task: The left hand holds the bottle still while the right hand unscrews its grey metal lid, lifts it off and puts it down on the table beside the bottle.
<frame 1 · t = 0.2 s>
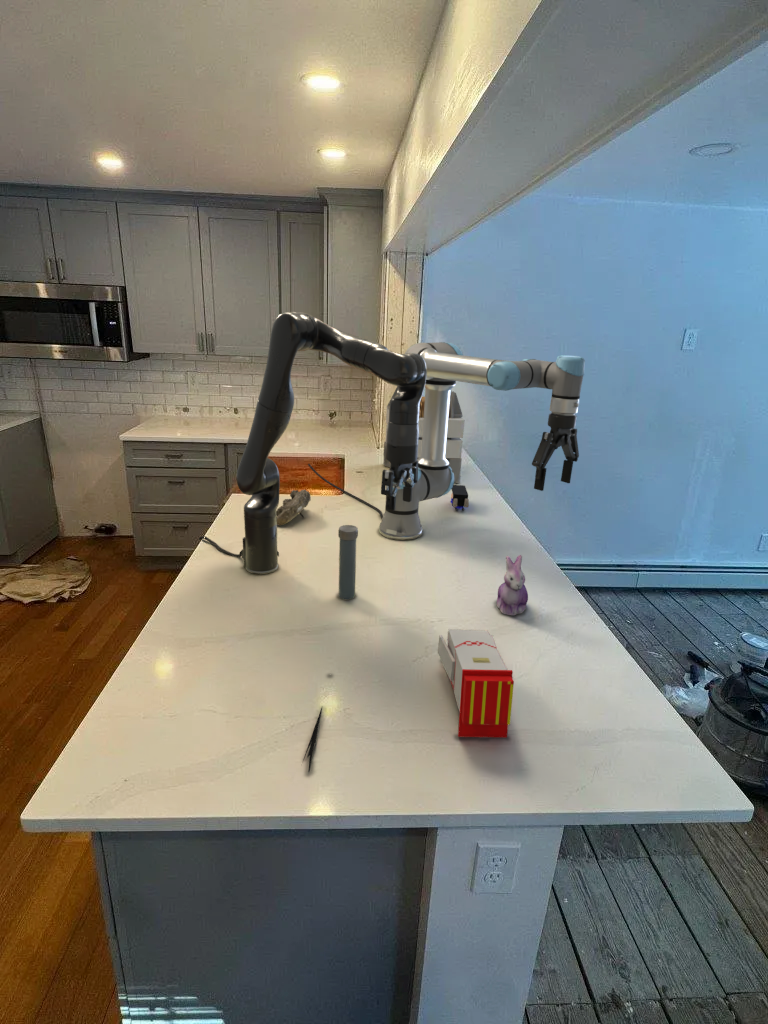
left hand: (398, 505, 139), 29 cm above the counter, tool pointing down, fingers open, 8 cm apart
right hand: (552, 485, 166), 28 cm above the counter, tool pointing down, fingers open, 13 cm apart
bottle: (346, 595, 156), on the counter
fossil: (293, 517, 211), on the counter
figurine character: (458, 507, 230), on the counter
figurine: (511, 608, 153), on the counter
toy: (469, 691, 119), on the counter
lid: (348, 529, 149), point 20 cm above the counter, screwed on, not yet turned
white wooden crate: (419, 473, 275), on the counter
feather: (319, 719, 109), on the counter
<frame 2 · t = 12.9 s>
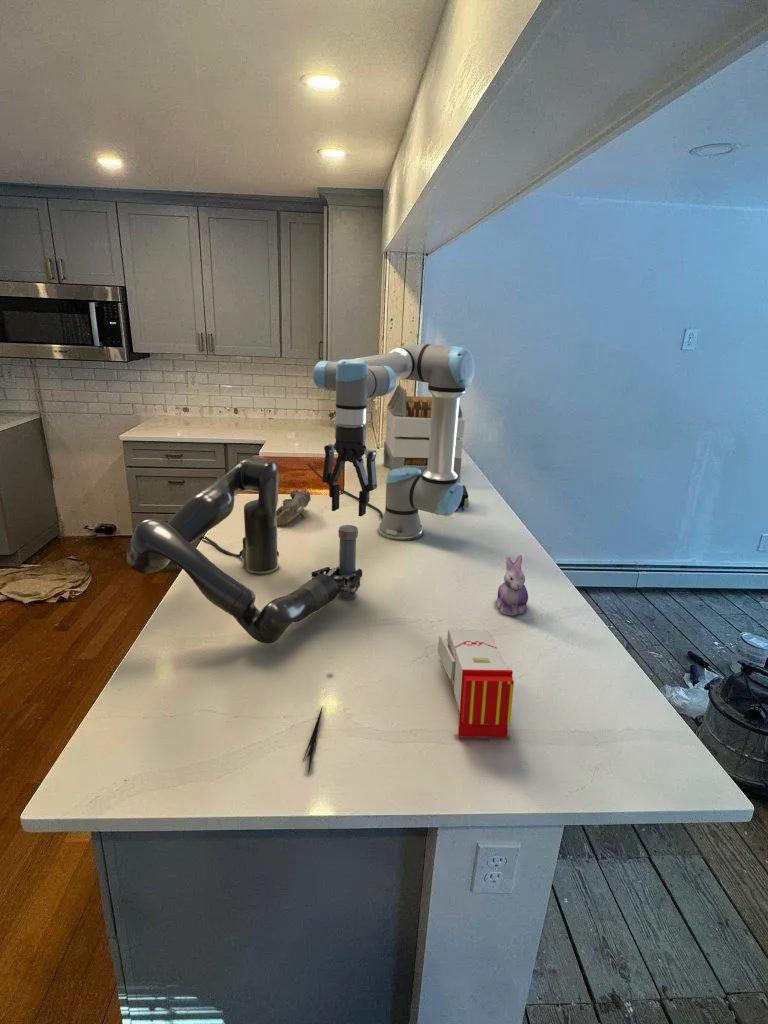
left hand: (352, 569, 156), 7 cm above the counter, tool horizontal, fingers closed on bottle, 4 cm apart
right hand: (348, 512, 147), 24 cm above the counter, tool pointing down, fingers open, 7 cm apart
bottle: (346, 595, 156), on the counter, touching left hand
everything else where it was.
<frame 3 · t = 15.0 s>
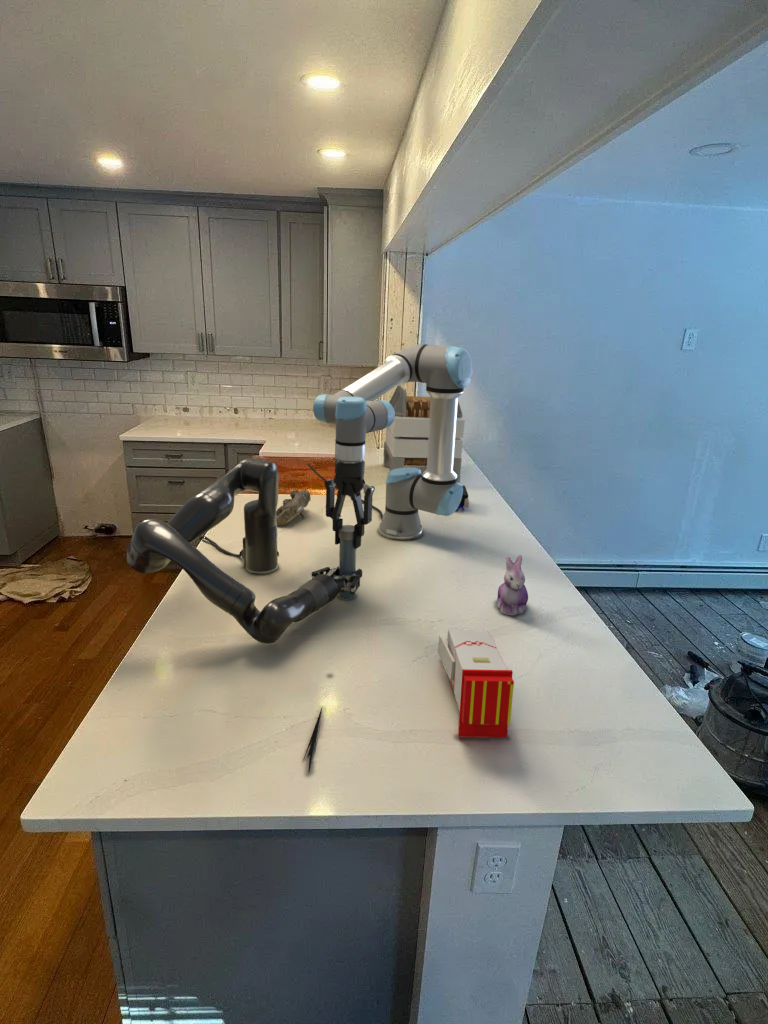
left hand: (352, 569, 156), 7 cm above the counter, tool horizontal, fingers closed on bottle, 4 cm apart
right hand: (347, 544, 150), 15 cm above the counter, tool pointing down, fingers closed on lid, 5 cm apart
bottle: (346, 595, 156), on the counter, touching left hand
lid: (348, 529, 149), point 20 cm above the counter, screwed on, not yet turned, touching right hand
everything else where it was.
when the right hand's fingers open (15 cm above the counter, at t = 16.1 s): lid stays where it is, point 20 cm above the counter.
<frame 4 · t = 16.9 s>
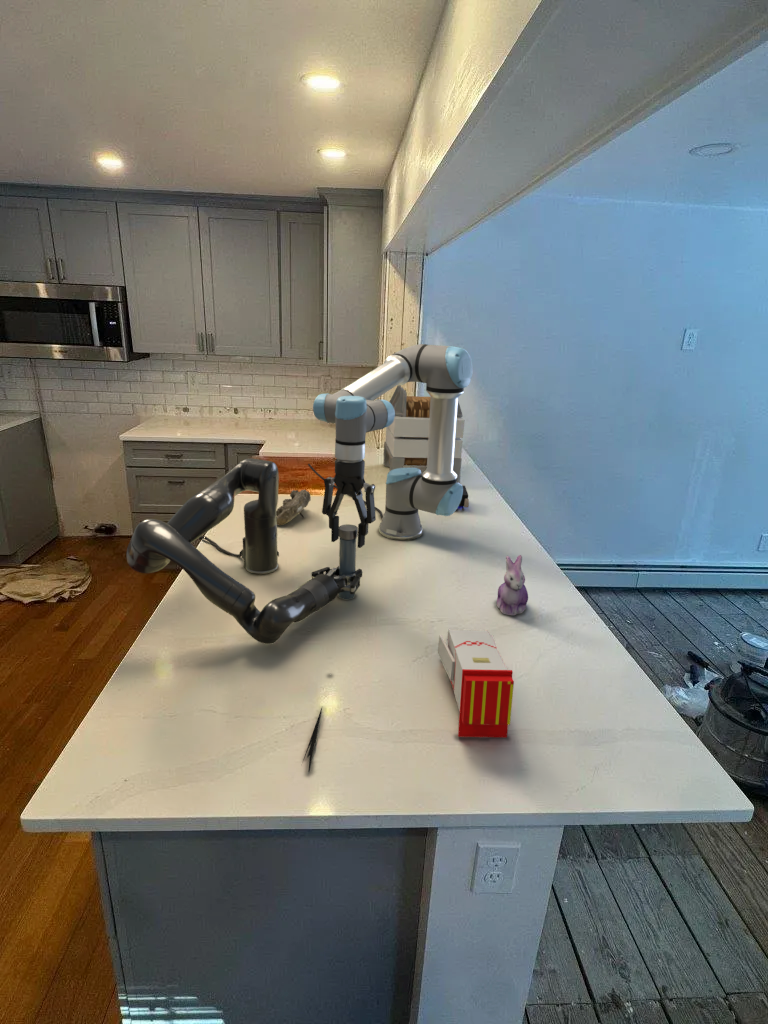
left hand: (352, 569, 156), 7 cm above the counter, tool horizontal, fingers closed on bottle, 4 cm apart
right hand: (347, 542, 150), 16 cm above the counter, tool pointing down, fingers open, 7 cm apart
bottle: (346, 595, 156), on the counter, touching left hand
lid: (348, 528, 149), point 20 cm above the counter, turned 75° so far, risen 0.2 cm, still on its thread
everything else where it was.
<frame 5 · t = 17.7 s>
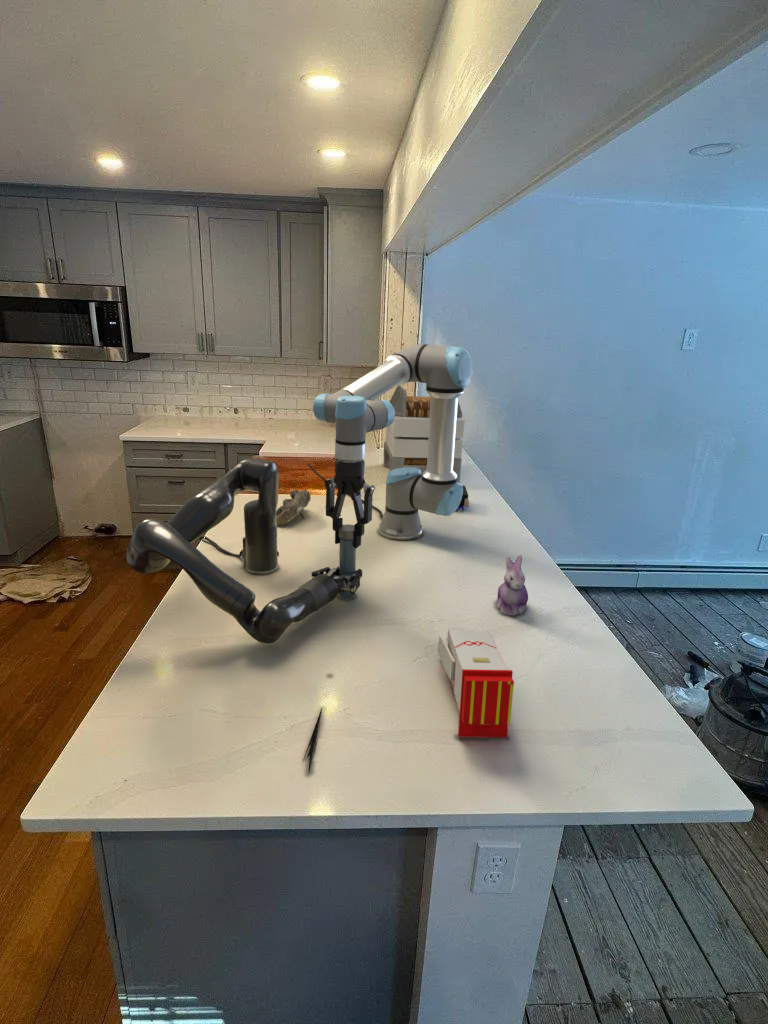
left hand: (352, 569, 156), 7 cm above the counter, tool horizontal, fingers closed on bottle, 4 cm apart
right hand: (347, 544, 150), 15 cm above the counter, tool pointing down, fingers closed on lid, 5 cm apart
bottle: (346, 595, 156), on the counter, touching left hand
lid: (348, 528, 149), point 20 cm above the counter, turned 75° so far, risen 0.2 cm, still on its thread, touching right hand
everything else where it was.
when the right hand's fingers open (0 cm above the counter, at t = 24.6 s): lid drops 2 cm, point 2 cm above the counter.
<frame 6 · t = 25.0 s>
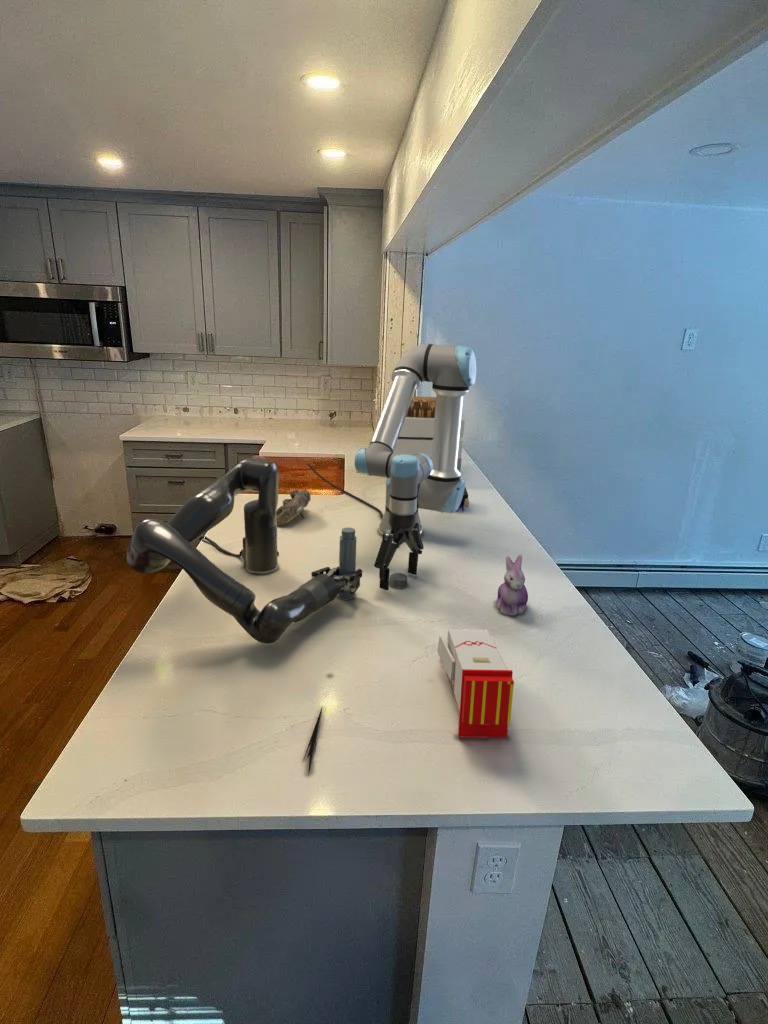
left hand: (352, 569, 156), 7 cm above the counter, tool horizontal, fingers closed on bottle, 4 cm apart
right hand: (398, 581, 164), 1 cm above the counter, tool pointing down, fingers open, 13 cm apart
bottle: (346, 595, 156), on the counter, touching left hand
lid: (398, 577, 163), point 2 cm above the counter, off its thread
everything else where it was.
when the left hand's fingers open (7 cm above the counter, at t = 25.7 s): bottle stays where it is, on the counter.
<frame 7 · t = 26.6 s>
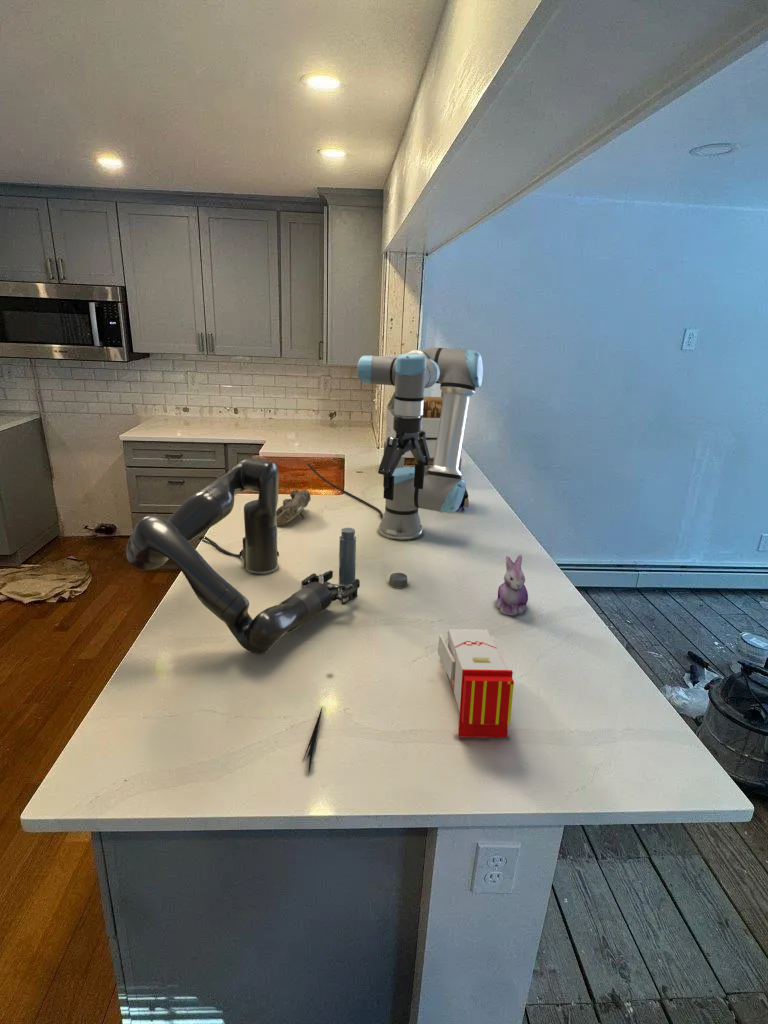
left hand: (344, 577, 152), 6 cm above the counter, tool horizontal, fingers open, 8 cm apart
right hand: (403, 493, 155), 27 cm above the counter, tool pointing down, fingers open, 13 cm apart
bottle: (346, 595, 156), on the counter
everything else where it was.
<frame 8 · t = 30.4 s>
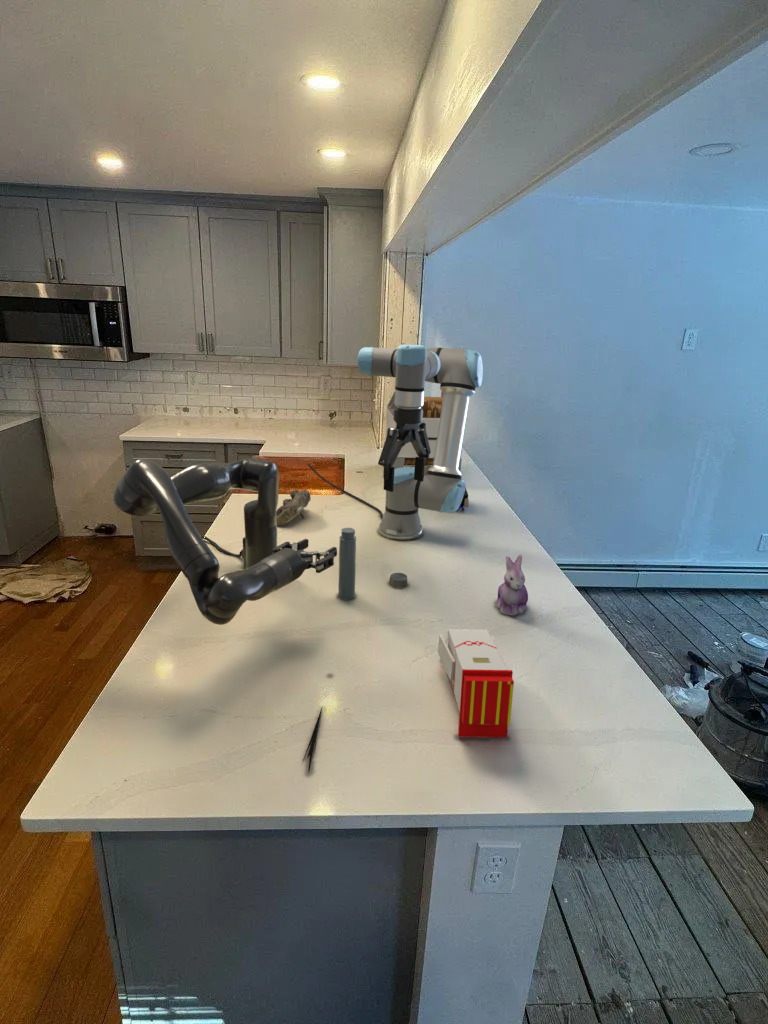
left hand: (321, 546, 139), 19 cm above the counter, tool horizontal, fingers open, 8 cm apart
right hand: (404, 485, 154), 30 cm above the counter, tool pointing down, fingers open, 13 cm apart
nothing on the counter moved.
at the end: lid came off its thread; lid point 2.0 cm above the counter; the left hand is holding nothing; the right hand is holding nothing; bottle tilted 0°; bottle moved 0.1 cm from its start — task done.
